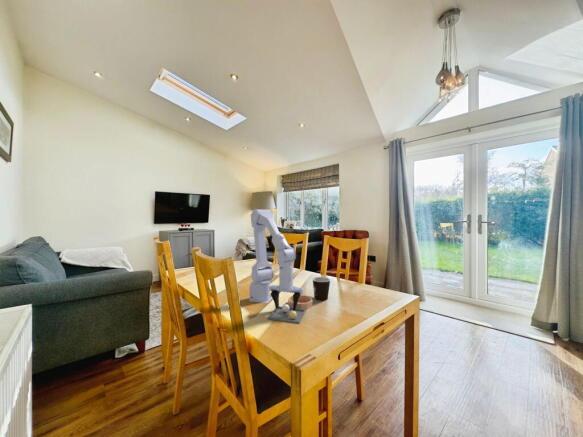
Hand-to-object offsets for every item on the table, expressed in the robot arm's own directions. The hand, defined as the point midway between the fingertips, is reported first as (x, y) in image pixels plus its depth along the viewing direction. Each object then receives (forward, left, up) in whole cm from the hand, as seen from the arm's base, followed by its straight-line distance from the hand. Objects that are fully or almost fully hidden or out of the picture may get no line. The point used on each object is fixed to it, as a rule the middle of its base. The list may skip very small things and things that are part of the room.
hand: (285, 309), depth 98 cm
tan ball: (+4, -5, -1) cm, 7 cm away
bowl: (+4, +10, -2) cm, 11 cm away
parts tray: (+1, -2, -2) cm, 3 cm away
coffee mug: (+12, +22, -2) cm, 25 cm away
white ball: (0, 0, -1) cm, 1 cm away
